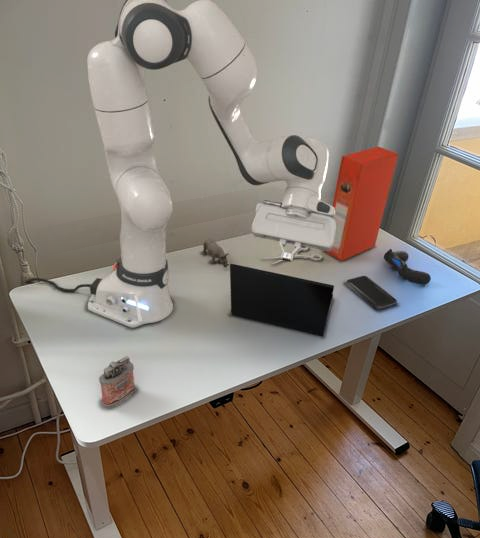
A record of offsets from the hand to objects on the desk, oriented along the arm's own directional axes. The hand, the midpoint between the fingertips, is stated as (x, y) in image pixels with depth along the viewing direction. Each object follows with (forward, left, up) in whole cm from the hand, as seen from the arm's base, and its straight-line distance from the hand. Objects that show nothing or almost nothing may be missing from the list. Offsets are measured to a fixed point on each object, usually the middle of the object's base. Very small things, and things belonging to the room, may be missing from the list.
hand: (286, 260), depth 121 cm
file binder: (+14, +50, -21) cm, 56 cm away
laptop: (0, +9, -20) cm, 22 cm away
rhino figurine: (-25, +25, -21) cm, 41 cm away
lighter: (-27, -37, -21) cm, 50 cm away
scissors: (-3, +37, -20) cm, 43 cm away
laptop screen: (0, -2, -10) cm, 10 cm away
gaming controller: (+32, +41, -21) cm, 56 cm away
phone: (+23, +25, -20) cm, 40 cm away
